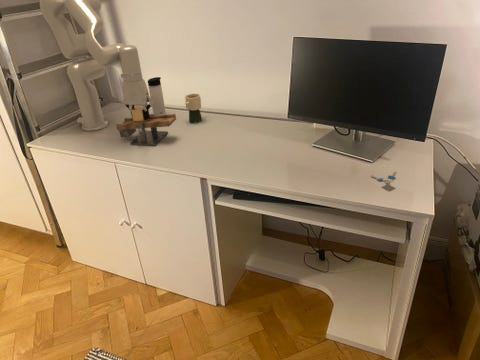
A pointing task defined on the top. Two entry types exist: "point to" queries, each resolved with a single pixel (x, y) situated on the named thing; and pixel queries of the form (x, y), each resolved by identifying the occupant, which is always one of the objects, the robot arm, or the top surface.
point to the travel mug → (156, 96)
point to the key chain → (387, 186)
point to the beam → (154, 121)
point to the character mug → (193, 107)
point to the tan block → (138, 114)
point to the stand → (148, 136)
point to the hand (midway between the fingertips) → (141, 118)
